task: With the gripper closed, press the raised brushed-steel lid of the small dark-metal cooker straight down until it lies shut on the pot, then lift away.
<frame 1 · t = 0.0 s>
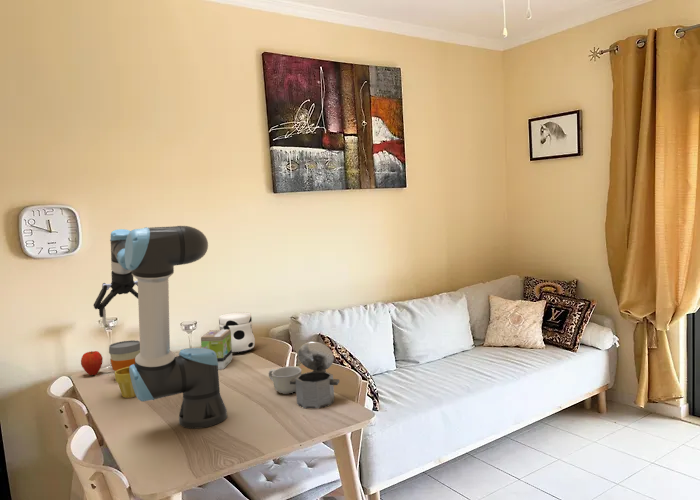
hand: (123, 321, 208), 28 cm above the table, tool tilted 20°, fingers open, 13 cm apart
plant pot: (131, 395, 206), on the table
reusable coffee cup: (127, 379, 227), on the table
tea box: (218, 365, 241), on the table
milk container: (237, 351, 264), on the table
cooker: (315, 402, 186), on the table
apple: (93, 375, 236), on the table
teacup: (285, 391, 200), on the table
lid: (316, 355, 189), point 16 cm above the table, hinge at 65.0°
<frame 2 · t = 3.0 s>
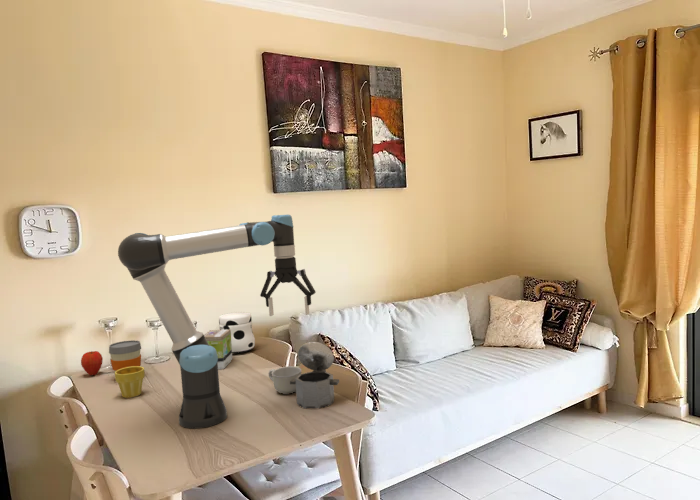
hand: (289, 314, 197), 29 cm above the table, tool pointing down, fingers open, 13 cm apart
nothing on the table moved.
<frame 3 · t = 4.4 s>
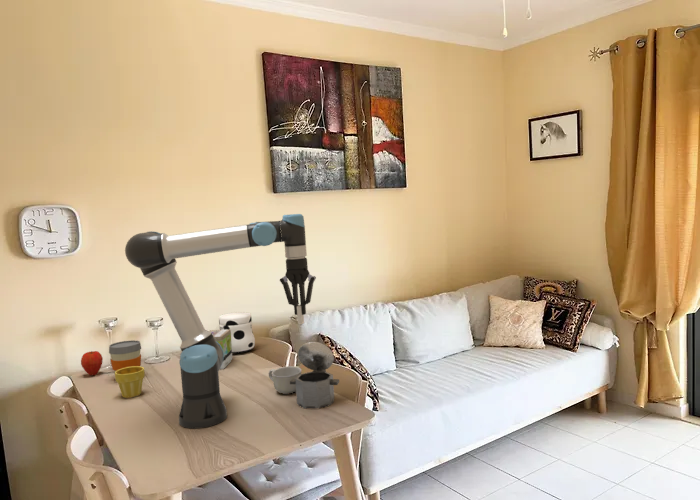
hand: (301, 323, 192), 26 cm above the table, tool pointing down, fingers closed
nothing on the table moved.
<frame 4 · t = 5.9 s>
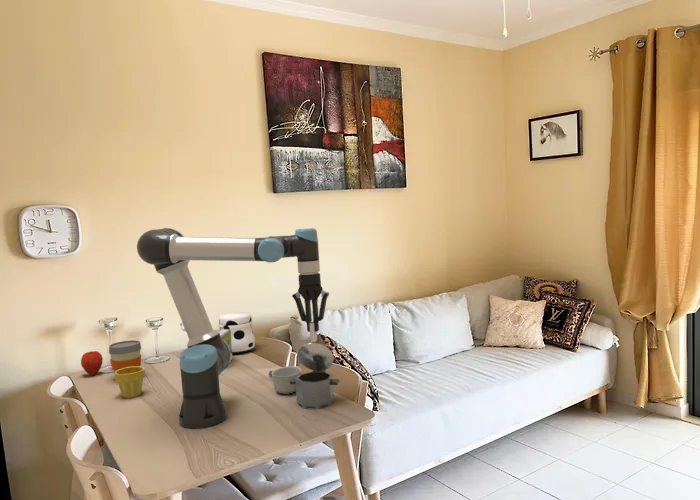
hand: (313, 340, 187), 21 cm above the table, tool pointing down, fingers closed
lid: (316, 355, 189), point 15 cm above the table, hinge at 62.5°, touching gripper
everything else where it was.
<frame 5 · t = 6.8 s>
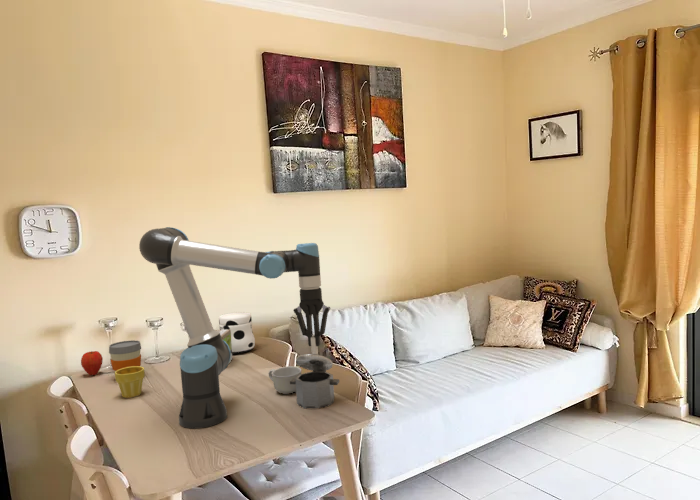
hand: (315, 355, 187), 16 cm above the table, tool pointing down, fingers closed
lid: (314, 360, 187), point 14 cm above the table, hinge at 40.1°, touching gripper
everything else where it was.
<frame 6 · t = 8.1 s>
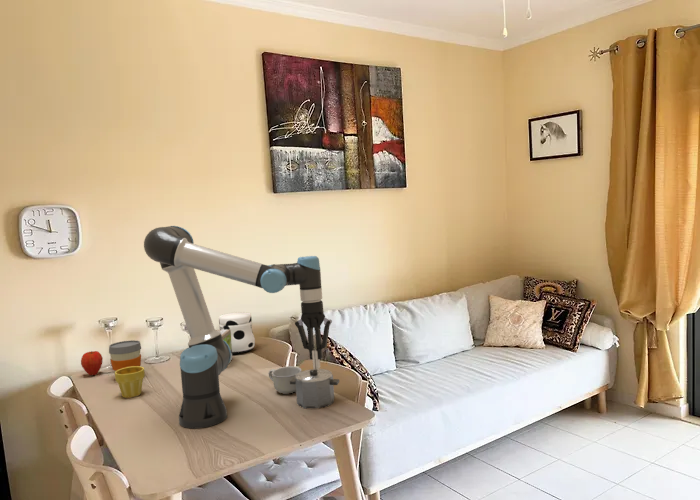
hand: (316, 368, 187), 11 cm above the table, tool pointing down, fingers closed
lid: (313, 373, 185), point 10 cm above the table, hinge at -0.5°, touching cooker, gripper
everything else where it was.
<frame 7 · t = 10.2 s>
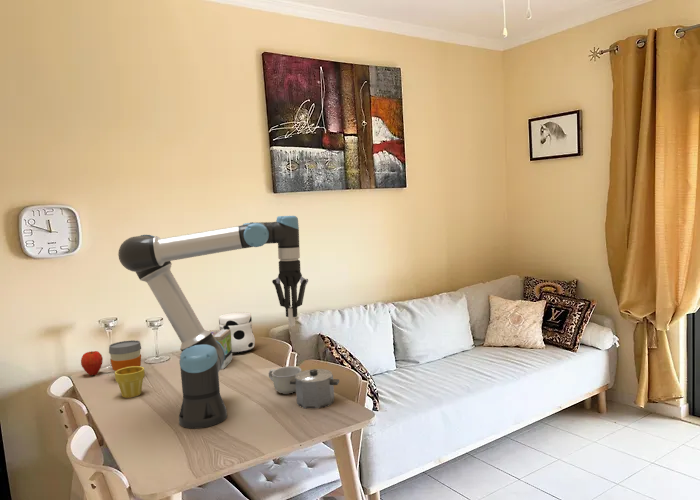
hand: (292, 326, 191), 26 cm above the table, tool pointing down, fingers closed
lid: (313, 373, 185), point 10 cm above the table, hinge at -0.5°, touching cooker
everything else where it was.
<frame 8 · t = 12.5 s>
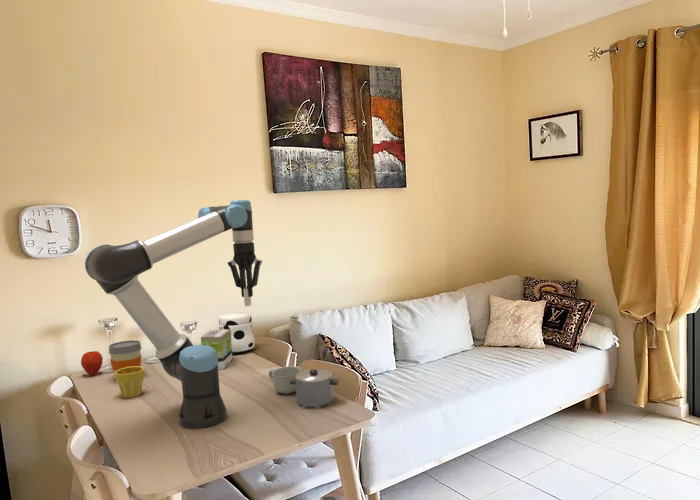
hand: (248, 305, 200), 32 cm above the table, tool pointing down, fingers closed
nothing on the table moved.
at the end: lid at +0° (first picture: +65°) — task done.
